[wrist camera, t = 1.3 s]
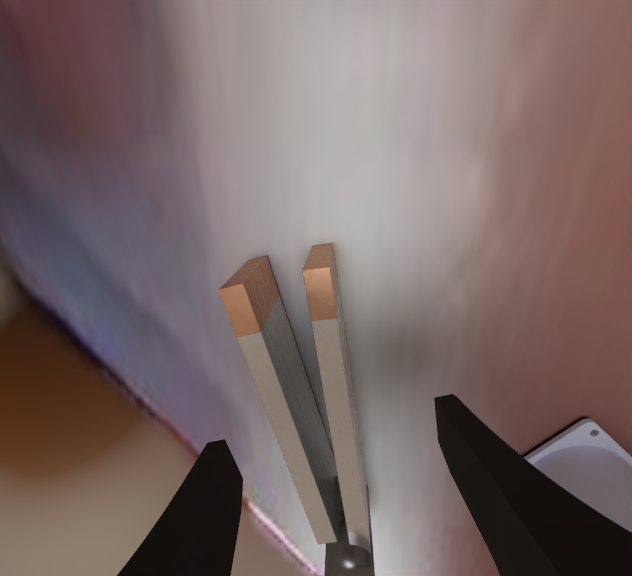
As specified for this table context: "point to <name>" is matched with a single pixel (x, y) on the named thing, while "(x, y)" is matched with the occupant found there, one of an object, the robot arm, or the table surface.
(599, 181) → the table surface
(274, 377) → the tongs moving arm
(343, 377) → the tongs fixed arm
